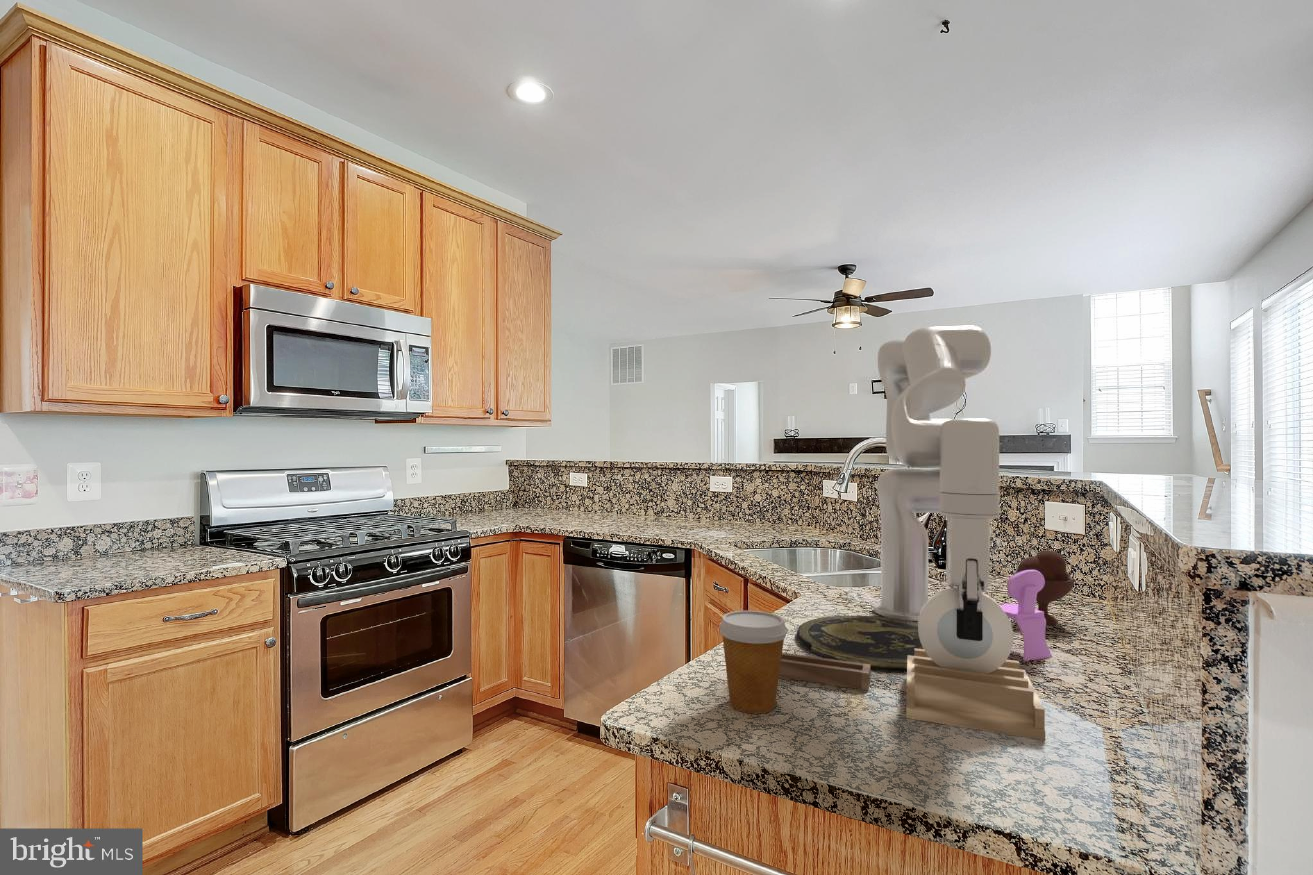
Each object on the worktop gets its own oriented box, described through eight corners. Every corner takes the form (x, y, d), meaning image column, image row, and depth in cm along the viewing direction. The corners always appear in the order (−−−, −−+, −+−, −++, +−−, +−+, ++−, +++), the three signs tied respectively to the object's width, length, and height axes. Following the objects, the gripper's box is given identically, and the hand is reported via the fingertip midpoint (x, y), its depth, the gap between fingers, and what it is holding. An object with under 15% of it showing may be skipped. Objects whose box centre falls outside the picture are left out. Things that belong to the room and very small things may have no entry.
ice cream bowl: (1060, 615, 135) (1060, 546, 135) (1083, 630, 124) (1083, 555, 124) (1006, 612, 138) (1006, 544, 138) (1024, 626, 127) (1024, 552, 127)
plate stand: (771, 666, 103) (771, 651, 103) (870, 680, 97) (870, 664, 97) (765, 674, 99) (766, 659, 99) (868, 690, 93) (868, 673, 93)
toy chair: (1013, 641, 117) (1013, 561, 117) (1056, 656, 109) (1057, 570, 109) (978, 645, 115) (979, 563, 115) (1020, 661, 106) (1020, 573, 106)
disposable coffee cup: (800, 704, 87) (800, 618, 88) (760, 726, 81) (761, 633, 81) (745, 685, 94) (745, 606, 94) (704, 704, 87) (705, 618, 88)
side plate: (903, 604, 92) (985, 575, 88) (941, 683, 90) (1028, 657, 86) (903, 607, 90) (987, 577, 86) (942, 687, 88) (1030, 661, 84)
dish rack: (907, 677, 98) (907, 644, 98) (1024, 693, 92) (1024, 658, 92) (906, 717, 83) (906, 678, 84) (1045, 740, 77) (1045, 698, 77)
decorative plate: (1010, 651, 107) (869, 672, 96) (1010, 662, 107) (869, 685, 96) (886, 609, 134) (765, 622, 124) (886, 618, 134) (765, 631, 123)
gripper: (937, 501, 97) (937, 620, 96) (942, 509, 82) (941, 649, 82) (992, 503, 94) (992, 625, 94) (1006, 512, 79) (1006, 657, 79)
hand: (968, 636), depth 88 cm, fingers closed on side plate, 1 cm apart
